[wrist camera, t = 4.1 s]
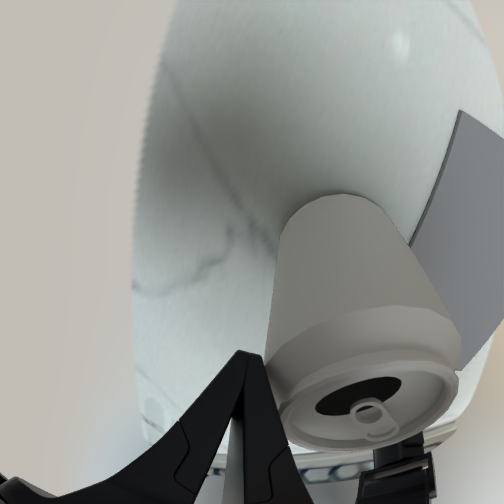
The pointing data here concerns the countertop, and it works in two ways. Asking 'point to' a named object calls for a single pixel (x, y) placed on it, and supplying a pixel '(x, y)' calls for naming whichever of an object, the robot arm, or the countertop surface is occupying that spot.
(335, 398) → the can
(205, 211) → the countertop surface
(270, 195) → the countertop surface
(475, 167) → the mat
